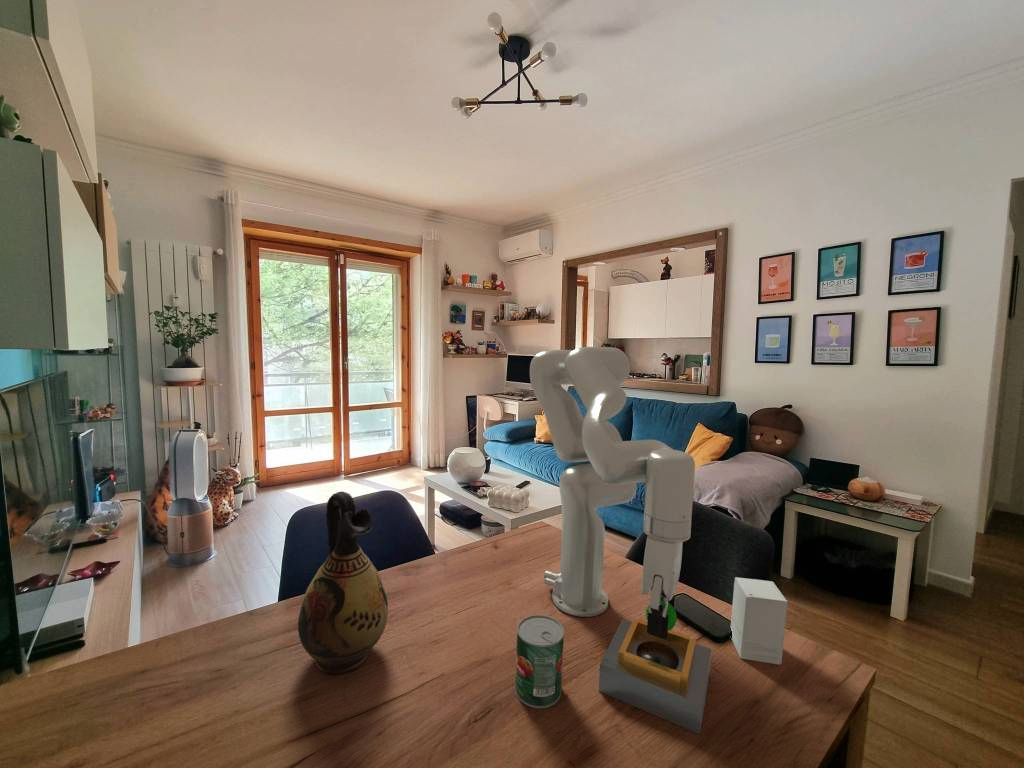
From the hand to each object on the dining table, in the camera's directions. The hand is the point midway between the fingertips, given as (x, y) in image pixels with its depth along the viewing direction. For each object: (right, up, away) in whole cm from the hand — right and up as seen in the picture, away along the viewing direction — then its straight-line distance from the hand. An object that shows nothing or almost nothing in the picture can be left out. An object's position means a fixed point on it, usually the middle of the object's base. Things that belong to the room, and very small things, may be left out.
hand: (660, 625), depth 76 cm
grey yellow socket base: (0, -11, +3) cm, 11 cm away
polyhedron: (0, -1, 0) cm, 1 cm away
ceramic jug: (-57, -9, +7) cm, 58 cm away
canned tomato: (-21, -11, -1) cm, 24 cm away
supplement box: (+22, -11, +11) cm, 27 cm away
